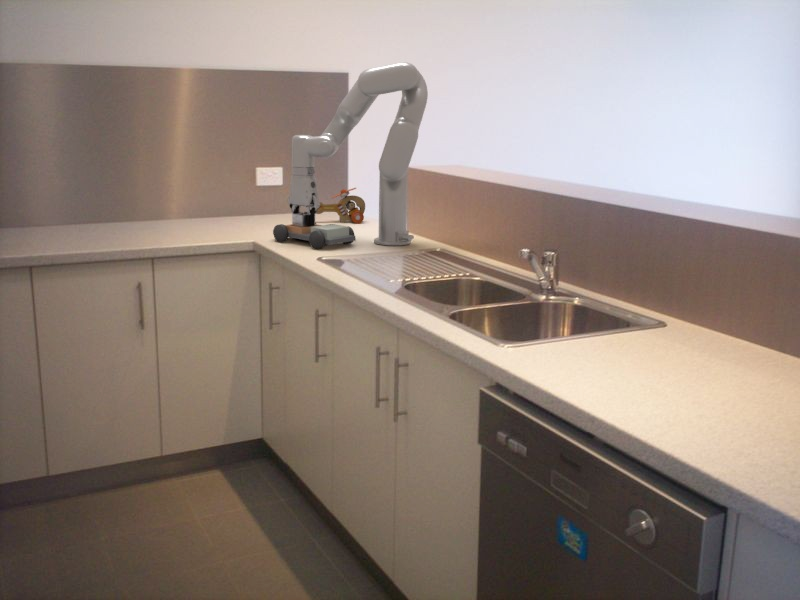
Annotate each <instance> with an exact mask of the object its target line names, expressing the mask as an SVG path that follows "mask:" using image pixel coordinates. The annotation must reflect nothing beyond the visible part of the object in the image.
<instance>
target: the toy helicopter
mask: <svg viewBox="0 0 800 600" xmlns="http://www.w3.org/2000/svg"><path fill="white" fill-rule="evenodd" d="M354 190H357V187H353V188H350V189H348V190H347V189H345V188H344V189H341V191H340V193H338V194H336V195H334V196H331V199H334V198H337V197H339V196H340V198H341V199H340V200H339V201H338V202H337V203H336V202H335V203H323V202H321V201H319V203H320V207H319V208H318V210H317V211H316V214H317V215H320V214H323V213H326V212H329V213H331V212H332V213H337V215H338V216H339V217H338V218H339V219H338V220H339V222H340V223H341V224H342V223H345V222H353V223H355V224H361V223H362V222H363V221H364V220H365V216H364V213H365V210H366V203H365V200H364V199H363V198H362V197H360V196H358V195H354V194H353V195H352V194H351V195H349V194H350V191H354ZM316 214H315V215H316Z"/></svg>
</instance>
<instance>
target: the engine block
mask: <svg viewBox="0 0 800 600" xmlns="http://www.w3.org/2000/svg"><path fill="white" fill-rule="evenodd" d="M291 215H292V219H291V220H292V221H291V223H292V226H295V227H301V228H303V227H308V226H307V225H306V216H307V215H308V213H307V211H302V212H301V211H299V212H298V213H294V214H293V213H292V214H291ZM314 226H315V225H314ZM309 227H311V226H309Z"/></svg>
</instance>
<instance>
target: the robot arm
mask: <svg viewBox="0 0 800 600" xmlns="http://www.w3.org/2000/svg"><path fill="white" fill-rule="evenodd" d="M400 91H401V99H400V102H399V105H398V109H397V112H396V116H395V119H394V121H393V123H392V124H391V126H390V129H389V132H388V135H387V137H386V141H385V144H384V147H383V149H382V153H381V156H380V159H379V162H378V170H379V178H378V179H379V181H378V182H379V183H378V184H379V189H378V192H379V193H378V194H379V195H378V237H375V238H374V239H373V243H374V244H376V245H381V246H389V247H390V246H393V247H394V246H406V245H410V244H411V241H412V240H414V237H415V235H414V234H409V233H410V232H409V230H407V223H408V222H407V213H408V212H407V209H408V179H409V178H408V173H409V172H408V171H409V166H410V162H411V161H412V158H413V154H414V151H415V148H416V145H417V142H418V139H419V130H420V126H421V123H422V121H423V118H424V117H423V116H424V115H425V114H424V113H425V110H426V106H427V103H428V86H427V83H426V80H425V78H424V76H423V74H421V72H420V71H419V69H417V67H416V66H415V65H414V64H412V63H410V62H400V63H393V64H389V65H385V66H381V67H379V66H378V67H374V68H373V67H372V68H367V69H364V70H363V71H362V72H360V74H359V76H358V79H357V80H356V81H355V83H354V84H353V86H352V87H351V89H350V90H349V91H348V93H347V94H346V95H345V97H344V98H343V99H342V101H341V102H340V103H339V105H338V107H337V109H336V113H335V114H334V117H333V118H332V120H330V123H329V124H328V125H327V127H326V128H325V129H324V131H323V132H322V134H321V135H318V136H316V135H315V136H312V135H311V134H296V135H293V136H292V137H291V174H292V175H291V177H290V185H289V186H290V187H289V197H288V198H287V200H286V202H287V204H288V205H289V208H290V209H291V211H290V212H291V213H292V214H294V213H298V212H300V210H301V207H305V209H306V212H307V213H308V215H307V216H306V225H307V226H308V227H309V226H314V225H315V223H316V211H317V210H318V208H319V207H320V203H319V202H320V200H319V187H318V181H317V177H316V176H315V174H316V170H315V158H320V159H329V158H331V157H333V156H334V154H336V153H337V151H339V148H340V147H341V146H342V144H343V143H344V141H346V139H347V138H348V136H349V135H350V134H351V132H352V130H353V129H354V128H355V127H356V126H358V124H359V123H360V121H361V120H362V118H363V117H364V116H365V114H366V113H367V111H368V110H369V109H370V107H371V106H372V105H373V103H374V102H375V101H376V99H377V97H379V96H380V95H387V94H390V93H396V92H400Z"/></svg>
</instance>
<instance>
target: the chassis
mask: <svg viewBox="0 0 800 600" xmlns="http://www.w3.org/2000/svg"><path fill="white" fill-rule="evenodd" d="M272 234H273V236H274V237H273V238H274V239H275V241H276V242H278V243H284V242H286V241H288V238H290V239H291V238H293V239H296V240H298V239H299V240H303V241H308V242H309V245H310V247H311V248H312V249H314V250H321V249H323V248H324V246H325V245H328V246H329V245H335V244H343V245H350V244H351V245H352V243H353V242H355V241H356V235H355V232H354V230H353V228H352V227H351V226H348V225H340V224H333V223H331V224H323V225H322V224H317V222H315V226H311V227H303V228H301V227H295V226H292V224H283V223H281V224H276V225H274V228H273V229H272Z"/></svg>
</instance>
